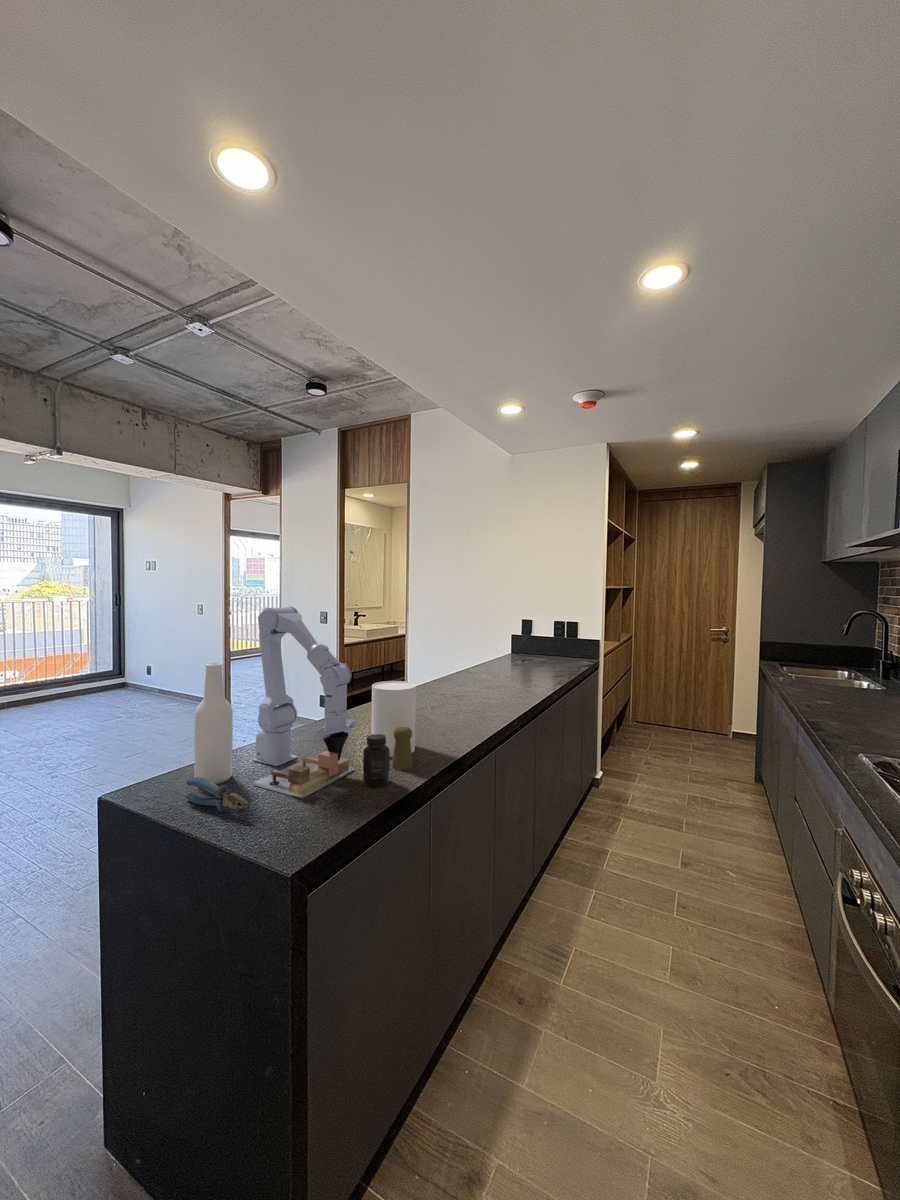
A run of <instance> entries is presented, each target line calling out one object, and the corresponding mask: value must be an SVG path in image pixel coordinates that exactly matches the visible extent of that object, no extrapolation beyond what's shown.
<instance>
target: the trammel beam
mask: <svg viewBox="0 0 900 1200" xmlns="http://www.w3.org/2000/svg"><path fill="white" fill-rule="evenodd" d="M349 760H350V759H349V758H346V757H345V758H344V757H340V760H339V761H338V772H339V771H341V770H343V769H345V768H347V767H348V766H349V767H350V765H349V763H350V761H349ZM270 775H273V784H275V783H276V776H277V777H281V778H285V779H288V782H290V783H289V792H292V793H296V794H297V793H299V792H301V791H303V790H305V789H307V788H309V787H310V786H312V785H314V784H316V783H318V782H320V781H322V780H324V779H326V778H328V777H329V769H327V768H323V767H322V768H320V769H318V770H316V771H314V772H312V773H310V768H308V767H304V766H299V765H296V766H294V767H292V768H290V769H288V773H287V772H283V771H280V770H278V769H274V770H272V771H271V773H270Z"/></svg>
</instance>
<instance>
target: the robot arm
mask: <svg viewBox="0 0 900 1200" xmlns="http://www.w3.org/2000/svg"><path fill="white" fill-rule="evenodd" d="M302 619H303V617H302V614H301V613H299V611H298V609H297V608H295V607H293V606H288V607H287V606H285V607H265V608H263V610H261V612H260V614H259V615H258V616H257V620H258V629H259V633H258V635H259V636H258V639H259V647H260V656H261V662H262V664H261V665H262V672H263V673H262V674H263V680H264V690H265V698H264V699H263V700H262V701H261V703H259V704H258V717H257V721H258V722H257V723H258V726H259V728H260V729H259V730H258V732H257V733H256V737H255V757H254V758H253V761H254V762H258V763H262V764H266V765H270V766H271V765H272V766H275V767H279V766H281V765H283V764H286V763H288V762H290V761H292V760H296V759H298V755H294V754H292V753H291V751H292V749H291V747H292V728H293V727H294V723H295V722H296V721H297V717H298V712H297V711H298V710H297V708H296V707H295V704H294V698H292V697H291V696H290V695H288V694H287V691H286V683H285V682H286V681H285V675H284V666H283V658H282V657H283V656H282V650H281V649H282V648H281V641H282V640H281V639H283V637H284V636H285V635H286V634H290V635H291V636H292V637H293V638H294V639H295V641H297V642H298V643H299V644H300V645H301V647H302V648H304V650H305V651H306V652H307V654H306V658H307V660H308V661H309V662H310V663H311V665H312V666H313V667H314V669H315V670H316V671H317V672H318V674H319V675H320V676H319V680H320V683H321V686H322V689H323V690H322V691H323V694H324V726H322V727H321V728H320V729H318V731H316V732H314V734H313V741H317V742H322V741H323V743H325V745H326V747H327V750H328V752H333V753H338V761H339V760H340V758H341V755H342V752H343V748H344V745H345V743H346V742H347V739H348V737H349V732H348V731H349V730H350V728H351V729H354V728H355V727H356V725H355V723H356V721H355V719H347V706H348V704H347V703H348V702H347V699H348V695H347V693H348V688H347V687H348V684H349V683H350V682H351V680H352V671H351V668H350V667H349V665H348V664H347V663H344V662H340V661H339V660H338V659H337V658H336V657H335V656H334V655H333V654H332V652H331V651H330V649H329V646H328V645H325V644H322V643H318V642H317V640H316V639H315V637H314V636H313V634H312V633H311V632H310V630H309V629H308V627H307V626H306V625H305V624H304V622H303V621H302Z"/></svg>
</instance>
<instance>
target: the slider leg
mask: <svg viewBox="0 0 900 1200" xmlns="http://www.w3.org/2000/svg"><path fill="white" fill-rule="evenodd" d="M301 761H303V766H304V767H306V762H308V763H312V764H317V765H318V769H320V768H322V767H323V768H327V769H329V776H330V777H331V776H332V775H334V774H336V773H338V753H333V752H329V751H327V750H324V751H323V752H320V753H319V754H318V755H317V758H316V757H315V758H314V757H311V756H310V757H309V756H302V757H301Z"/></svg>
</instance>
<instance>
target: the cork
mask: <svg viewBox="0 0 900 1200" xmlns="http://www.w3.org/2000/svg"><path fill="white" fill-rule="evenodd" d="M411 737H412V731H411V729H410V728H409V727H397V728H396V729H395V730H394V738H395V746H394V753H393V757H392V761H391V768H392V769H394V770H395V771H408V770H411V769H412V768H413V767H414V763H413V752H411V744H410V739H411Z"/></svg>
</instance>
